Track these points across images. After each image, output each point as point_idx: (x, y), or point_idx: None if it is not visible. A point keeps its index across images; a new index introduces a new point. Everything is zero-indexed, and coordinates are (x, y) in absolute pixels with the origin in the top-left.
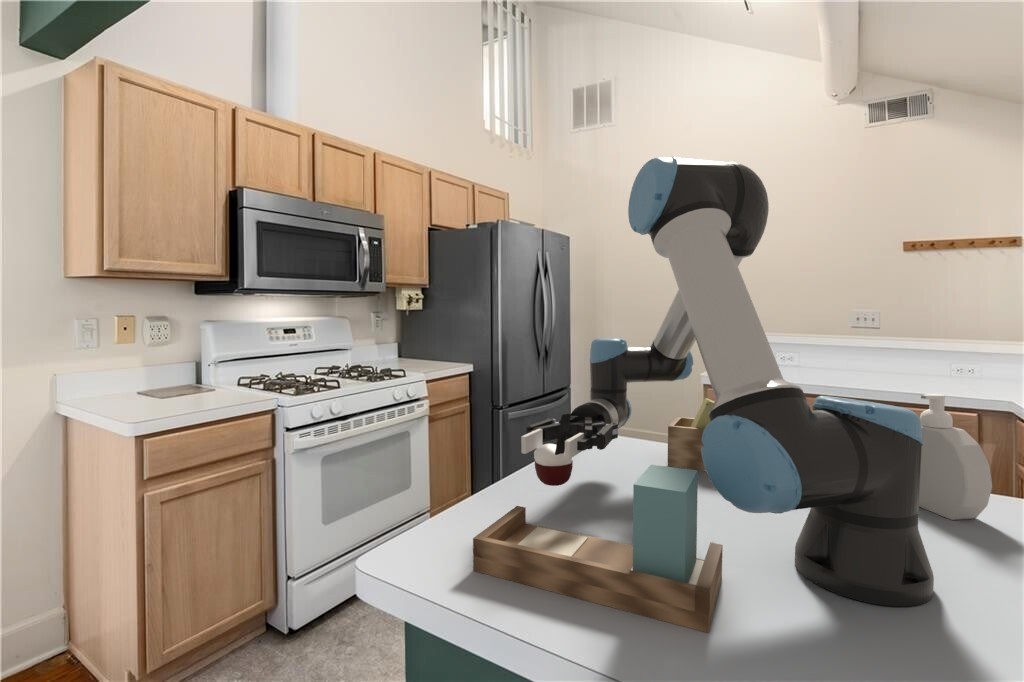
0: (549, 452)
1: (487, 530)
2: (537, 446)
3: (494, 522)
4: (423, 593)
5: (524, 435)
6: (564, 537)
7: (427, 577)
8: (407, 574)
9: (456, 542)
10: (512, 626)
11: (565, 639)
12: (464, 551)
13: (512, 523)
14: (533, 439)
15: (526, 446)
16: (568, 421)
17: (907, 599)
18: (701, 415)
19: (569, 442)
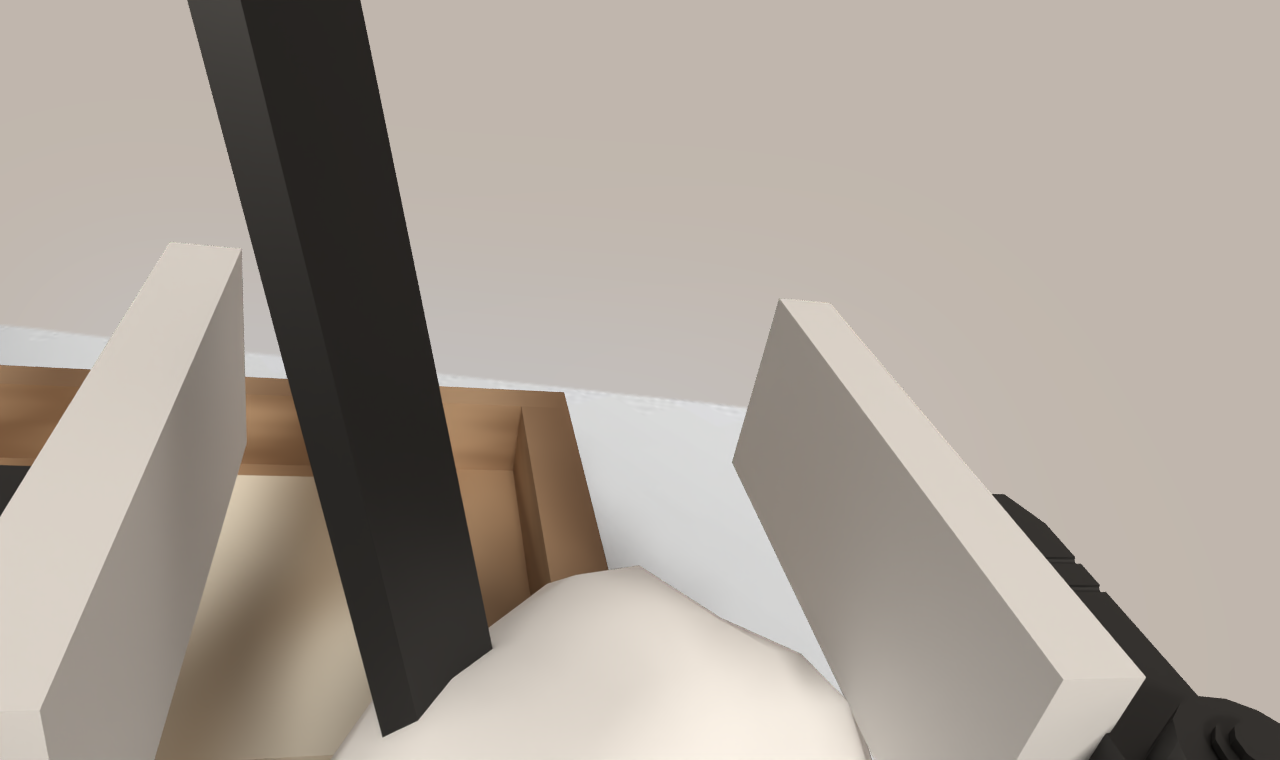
0: (553, 589)
1: (560, 442)
2: (853, 694)
3: (590, 499)
4: (585, 395)
5: (845, 331)
6: (206, 699)
7: (644, 440)
8: (707, 435)
9: (785, 627)
10: (266, 367)
11: (93, 365)
12: (688, 585)
13: None
14: (840, 494)
15: (756, 411)
16: (236, 89)
17: None
18: None
19: (169, 251)
